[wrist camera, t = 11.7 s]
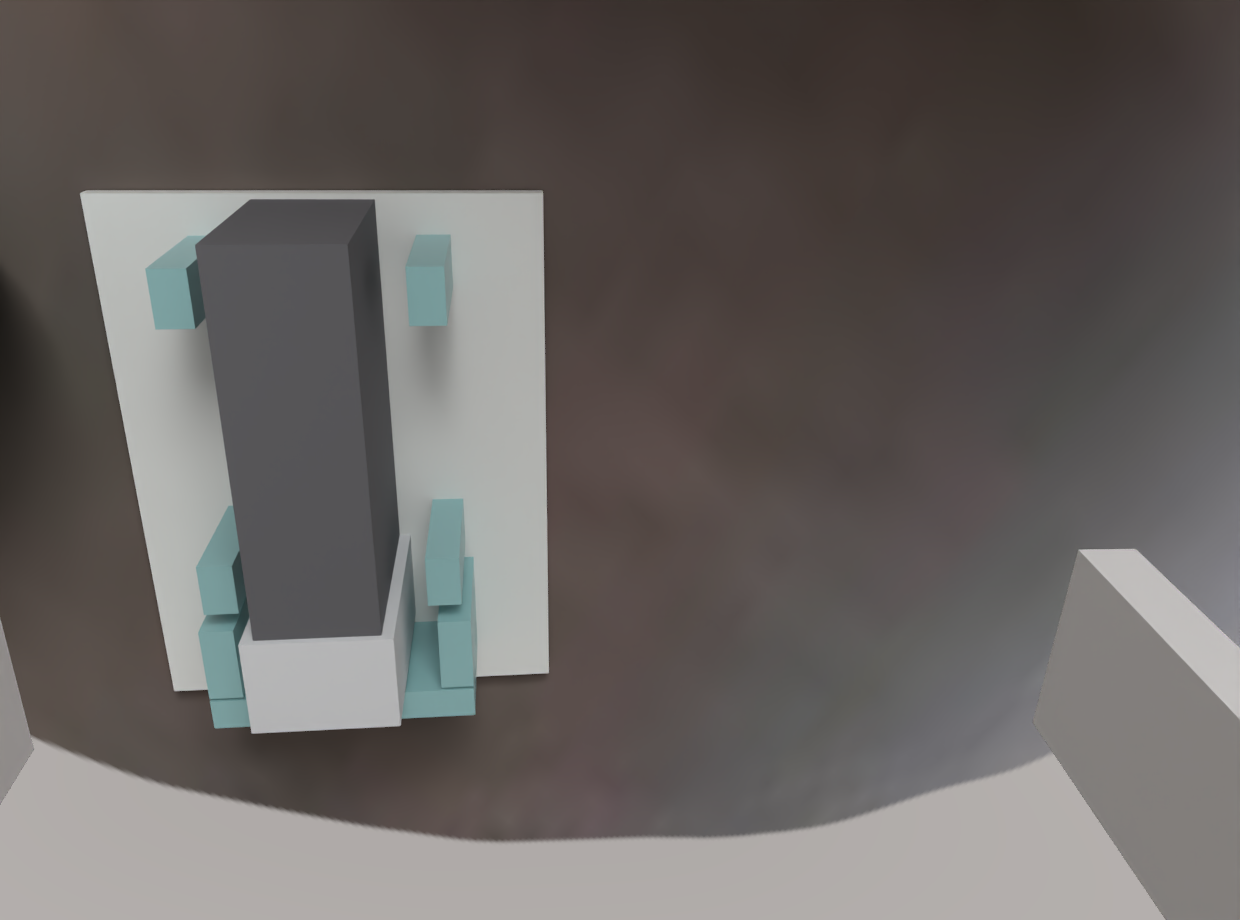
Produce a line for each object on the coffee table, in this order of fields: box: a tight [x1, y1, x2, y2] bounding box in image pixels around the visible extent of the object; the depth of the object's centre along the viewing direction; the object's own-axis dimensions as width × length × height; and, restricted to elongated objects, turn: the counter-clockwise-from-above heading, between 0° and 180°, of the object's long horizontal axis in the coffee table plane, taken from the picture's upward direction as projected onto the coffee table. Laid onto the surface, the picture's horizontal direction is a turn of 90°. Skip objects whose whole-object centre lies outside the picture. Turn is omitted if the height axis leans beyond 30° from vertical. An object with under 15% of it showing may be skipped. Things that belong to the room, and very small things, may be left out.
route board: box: [80, 190, 549, 728], centre depth 32 cm, size 17×13×4 cm
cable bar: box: [195, 199, 416, 734], centre depth 30 cm, size 14×4×6 cm, turn 179°
